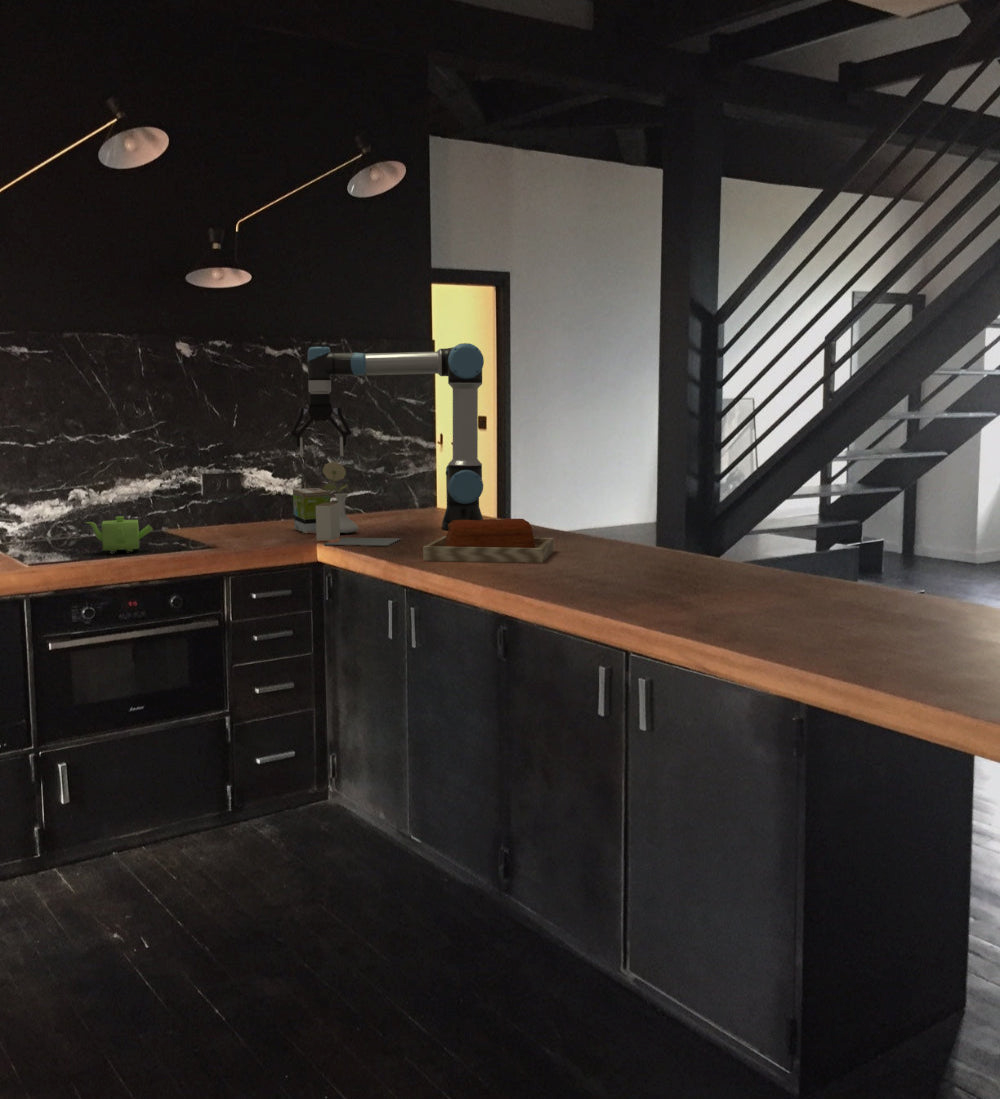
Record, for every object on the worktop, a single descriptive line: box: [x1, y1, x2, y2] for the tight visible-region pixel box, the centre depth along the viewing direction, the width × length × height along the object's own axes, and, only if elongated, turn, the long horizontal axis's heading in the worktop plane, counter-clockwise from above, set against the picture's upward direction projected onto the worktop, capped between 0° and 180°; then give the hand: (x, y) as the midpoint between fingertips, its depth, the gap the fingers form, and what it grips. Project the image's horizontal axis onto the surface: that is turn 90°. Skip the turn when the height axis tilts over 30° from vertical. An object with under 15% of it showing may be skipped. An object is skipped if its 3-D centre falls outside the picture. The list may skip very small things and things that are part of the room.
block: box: [315, 502, 341, 541], centre depth 381 cm, size 5×9×12 cm, turn 169°
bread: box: [445, 518, 535, 548], centre depth 341 cm, size 16×27×11 cm, turn 98°
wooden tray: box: [422, 536, 555, 564], centre depth 342 cm, size 35×24×5 cm
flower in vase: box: [322, 461, 359, 534], centre depth 398 cm, size 13×11×25 cm
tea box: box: [292, 487, 331, 533], centre depth 406 cm, size 15×10×15 cm
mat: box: [323, 537, 402, 547], centre depth 373 cm, size 21×16×1 cm
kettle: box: [84, 515, 154, 552], centre depth 357 cm, size 15×14×11 cm
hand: (321, 456), depth 388 cm, fingers open, 13 cm apart
